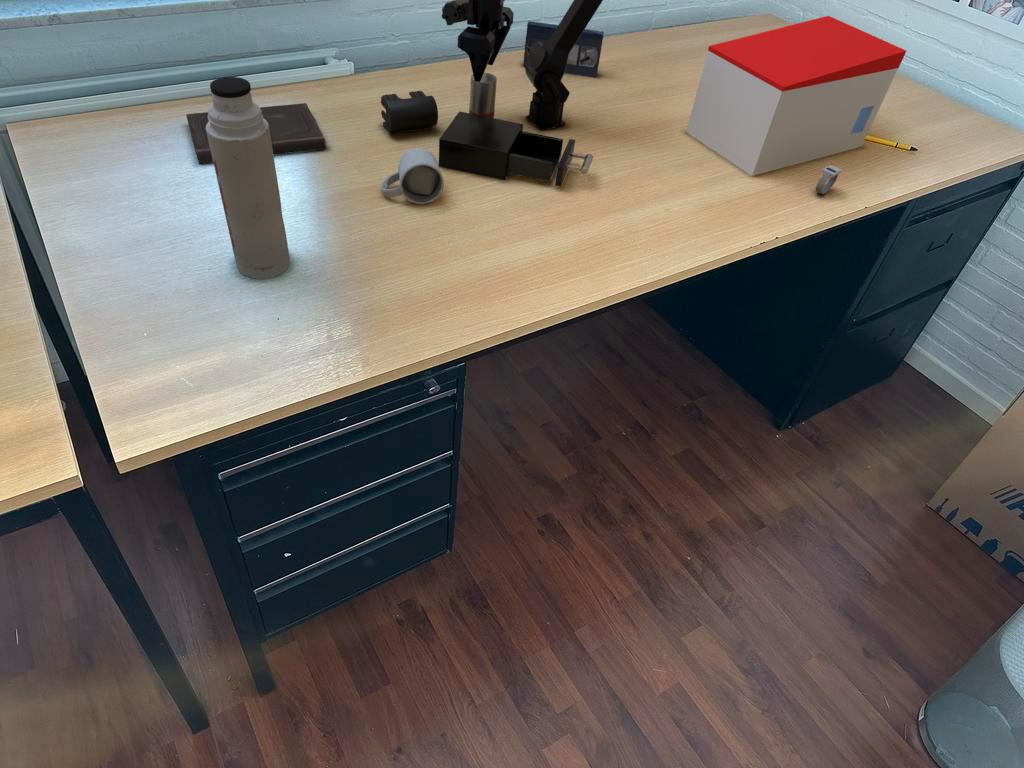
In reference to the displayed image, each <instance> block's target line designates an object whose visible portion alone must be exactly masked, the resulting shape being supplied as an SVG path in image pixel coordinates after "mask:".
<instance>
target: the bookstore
mask: <svg viewBox="0 0 1024 768" xmlns="http://www.w3.org/2000/svg"><path fill="white" fill-rule="evenodd" d="M906 53H907V49H904V48H902V47H900V46H898V45H895V44H893V43H891V42H888V41H886V40H884V39H882V38H881V37H880V38H879V37H877V36H875V35H873V34H871V33H868V32H866V31H864V30H861V29H859V28H858V27H855V26H853V25H850V24H848V23H846V22H844V21H841V20H840V19H837V18H835V17H833V16H830V15H825V16H822V17H818V18H814V19H810V20H806V21H802V22H798V23H794V24H790V25H786V26H782V27H779V28H773V29H771V30H770V29H769V30H766V31H763V32H762V31H761V32H759V33H755V34H751V35H747V36H742V37H739V38H734V39H731V40H728V41H727V40H726V41H722V42H719V43H715V44H711V45H708V47H707V53H706V57H705V60H704V65H703V68H702V72H701V75H700V79H699V83H698V87H697V90H696V94H695V97H694V101H693V105H692V108H691V112H690V114H689V115H690V116H689V119H688V122H687V126H686V130H685V133H686V134H688V135H689V136H691V137H692V138H694V139H695V140H697V141H699V142H700V143H702V144H703V145H705V147H707V148H709V149H710V150H712V151H714V152H715V153H716V154H718V155H719V156H721V157H722V158H724V159H725V160H726V161H729V162H730V163H731V164H733V165H734V166H736V167H737V168H739V169H740V170H742V171H743V172H745V174H747V175H749V176H750V177H754V176H759V175H762V174H765V173H769V172H773V171H776V170H779V169H780V170H781V169H784V168H788V167H791V166H794V165H795V166H796V165H799V164H802V163H806V162H810V161H813V160H817V159H822V158H825V157H828V156H833V155H836V154H840V153H843V152H847V151H851V150H854V149H859V148H862V147H863V144H864V143H865V140H866V138H867V136H868V134H869V131H870V129H871V128H872V125H873V123H874V122H875V118H876V117H877V115H878V113H879V111H880V108H881V106H882V104H883V101H884V100H885V97H886V95H887V93H888V91H889V89H890V86H891V84H892V82H893V80H894V78H895V76H896V74H897V71H898V69H899V68H900V66H901V64H902V62H903V60H904V58H905V55H906Z"/></svg>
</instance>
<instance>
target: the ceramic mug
mask: <svg viewBox="0 0 1024 768" xmlns="http://www.w3.org/2000/svg"><path fill="white" fill-rule="evenodd" d="M397 166H398V167H397V172H394V173H392V174H390V175H388V176H387V177H386V178H385V179H384V180H383V181H382V183H381V185H380V189H381V192H382V193H383V195H384V196H385V198H396V197H400V196H403V197H404V198H405V199H406V200H407V201H409V202H411V203H413V204H418V205H426V204H430V203H432V202H433V201H435V200H437V199H438V197H439V196H440V195H441V193H442V191H443V190H444V183H445V182H444V176H443V173H442V170H441V167H439V161H438V160H437V158H436V156H435V155H434V154H433V153H432V152H431V151H430V150H428V149H426V148H423V147H413V148H410V149H408V150H406V151H405V152H404V153H403V154H402V155H401V157H400V159H399V162H398V165H397ZM398 181H399V186H397V187H394V188H390V186H391V185H393V184H395V183H396V182H398Z"/></svg>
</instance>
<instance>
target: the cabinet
mask: <svg viewBox="0 0 1024 768" xmlns="http://www.w3.org/2000/svg"><path fill="white" fill-rule="evenodd" d="M521 131H524V123H520V122H514V121H510V120H505V119H500V118H496V117H494V118H491V117H486V116H481V115H476V114H471V113H469V112H465V111H458V112H457V114H455V117H454V118H453V120H451V122H450V123H449V124H448V126H447V127H446V129H445V130H444V131H443V133H442V134H441V135H440V137H439V138H438V165H439V168H445V169H449V170H453V171H457V172H464V173H467V174H472V175H478V176H482V177H486V178H491V179H497V180H500V181H506V180H507V177H508V176H509V173H506V170H507V159H508V153H509V151H510V150H511V148H512V146H513V144H514V142H515V141H516V139H517V137H518V135H519V133H520V132H521Z"/></svg>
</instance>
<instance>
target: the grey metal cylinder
mask: <svg viewBox="0 0 1024 768" xmlns="http://www.w3.org/2000/svg"><path fill="white" fill-rule="evenodd" d="M497 80H498V77H497V76H496V75H494V74H493V73H489V72H484V74H483V76H482V79H481V81H480V82H476V81H475V80H474V76H473V73H472V74H471V76H470V86H469V87H470V88H469V89H470V91H469V109H468V113H471V114H476V115H481V116H486V117H491V118H495V110H496V109H495V108H496V107H495V106H496V93H497V82H498V81H497Z"/></svg>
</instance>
